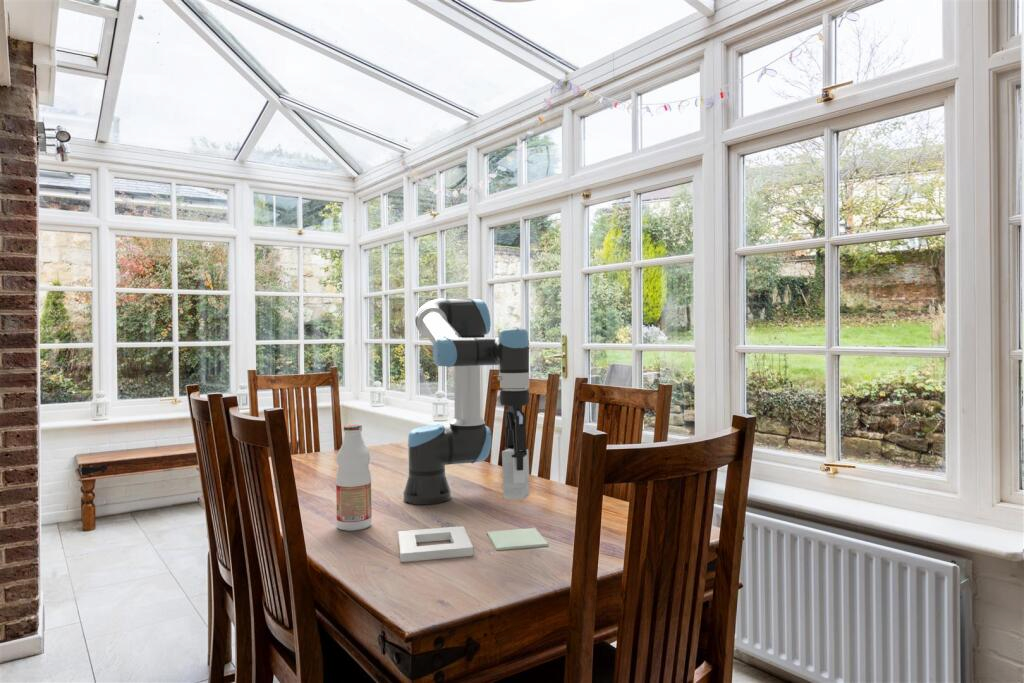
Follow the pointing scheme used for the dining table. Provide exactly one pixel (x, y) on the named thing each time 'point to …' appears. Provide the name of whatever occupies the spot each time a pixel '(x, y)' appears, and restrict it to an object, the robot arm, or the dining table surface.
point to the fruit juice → (353, 482)
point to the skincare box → (509, 487)
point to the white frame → (416, 553)
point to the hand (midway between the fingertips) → (516, 479)
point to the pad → (516, 539)
